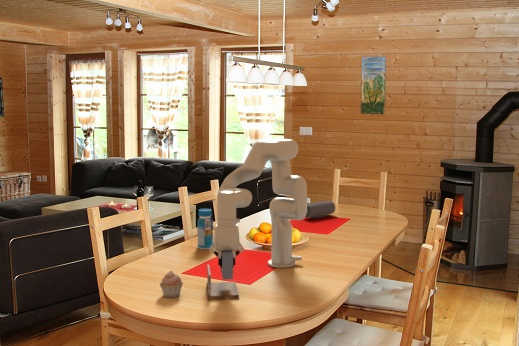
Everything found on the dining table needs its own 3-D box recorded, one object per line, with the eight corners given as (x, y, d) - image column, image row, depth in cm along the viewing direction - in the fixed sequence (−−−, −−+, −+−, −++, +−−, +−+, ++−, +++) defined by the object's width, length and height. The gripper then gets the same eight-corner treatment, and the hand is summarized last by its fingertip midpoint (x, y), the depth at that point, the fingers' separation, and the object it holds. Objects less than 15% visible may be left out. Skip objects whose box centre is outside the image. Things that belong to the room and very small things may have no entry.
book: (230, 270, 238) (230, 246, 237) (233, 279, 226) (233, 254, 225) (220, 270, 237) (220, 246, 236) (222, 279, 226) (222, 254, 224)
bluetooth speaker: (325, 213, 385) (325, 199, 384) (335, 216, 378) (336, 201, 377) (300, 218, 370) (301, 203, 369) (311, 220, 363) (311, 205, 362)
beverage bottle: (194, 249, 297) (194, 210, 294) (200, 244, 305) (200, 207, 302) (210, 250, 295) (210, 211, 292) (215, 246, 303) (215, 208, 300)
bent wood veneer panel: (235, 285, 241) (235, 263, 240) (238, 298, 225) (238, 274, 224) (206, 286, 240) (206, 264, 238) (207, 299, 224) (207, 276, 223)
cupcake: (188, 295, 229) (188, 270, 228) (170, 301, 222) (169, 276, 221) (173, 289, 236) (172, 265, 234) (154, 295, 229) (154, 271, 227)
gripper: (246, 219, 234) (246, 263, 236) (205, 220, 232) (205, 265, 234) (248, 223, 226) (248, 269, 229) (205, 224, 224) (206, 270, 227)
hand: (226, 266), depth 231 cm, fingers closed on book, 4 cm apart
